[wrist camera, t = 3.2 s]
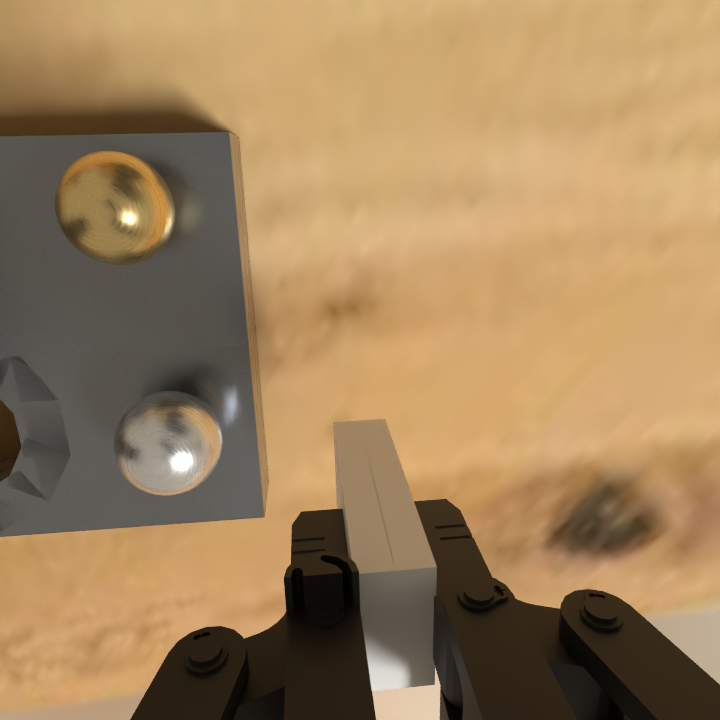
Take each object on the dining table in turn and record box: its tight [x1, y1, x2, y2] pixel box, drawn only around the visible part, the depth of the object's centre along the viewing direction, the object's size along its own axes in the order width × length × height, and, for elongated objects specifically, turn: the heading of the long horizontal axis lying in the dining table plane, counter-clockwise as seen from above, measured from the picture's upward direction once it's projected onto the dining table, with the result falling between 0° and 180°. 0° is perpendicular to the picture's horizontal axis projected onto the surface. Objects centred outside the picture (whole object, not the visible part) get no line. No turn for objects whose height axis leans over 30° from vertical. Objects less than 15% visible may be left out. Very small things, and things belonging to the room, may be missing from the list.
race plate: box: [0, 132, 269, 537], centre depth 19 cm, size 13×14×2 cm
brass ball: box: [54, 151, 175, 266], centre depth 15 cm, size 3×3×3 cm
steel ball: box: [113, 391, 223, 495], centre depth 17 cm, size 3×3×3 cm
